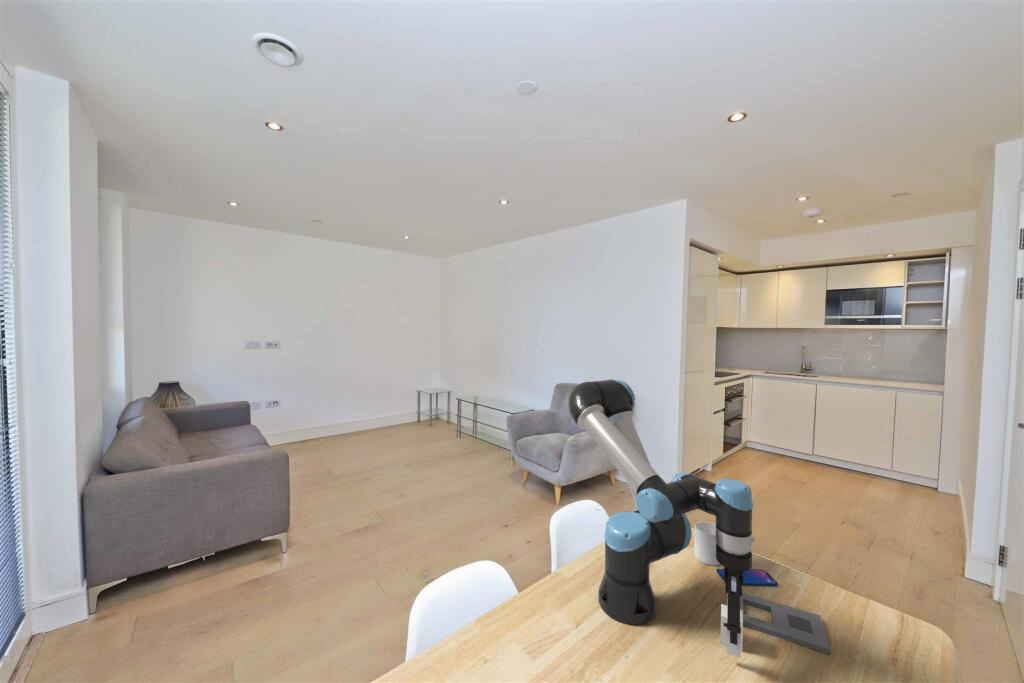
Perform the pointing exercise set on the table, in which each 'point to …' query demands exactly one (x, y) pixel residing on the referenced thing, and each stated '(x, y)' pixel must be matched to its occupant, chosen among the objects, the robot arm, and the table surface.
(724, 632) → the charger
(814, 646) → the outlet plate
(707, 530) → the mug
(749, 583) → the smartphone
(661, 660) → the table surface
